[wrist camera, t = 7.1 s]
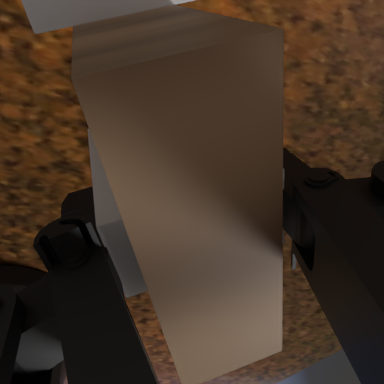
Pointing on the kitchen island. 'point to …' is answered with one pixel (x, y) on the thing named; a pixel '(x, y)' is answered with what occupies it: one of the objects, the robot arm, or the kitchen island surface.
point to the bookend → (189, 164)
